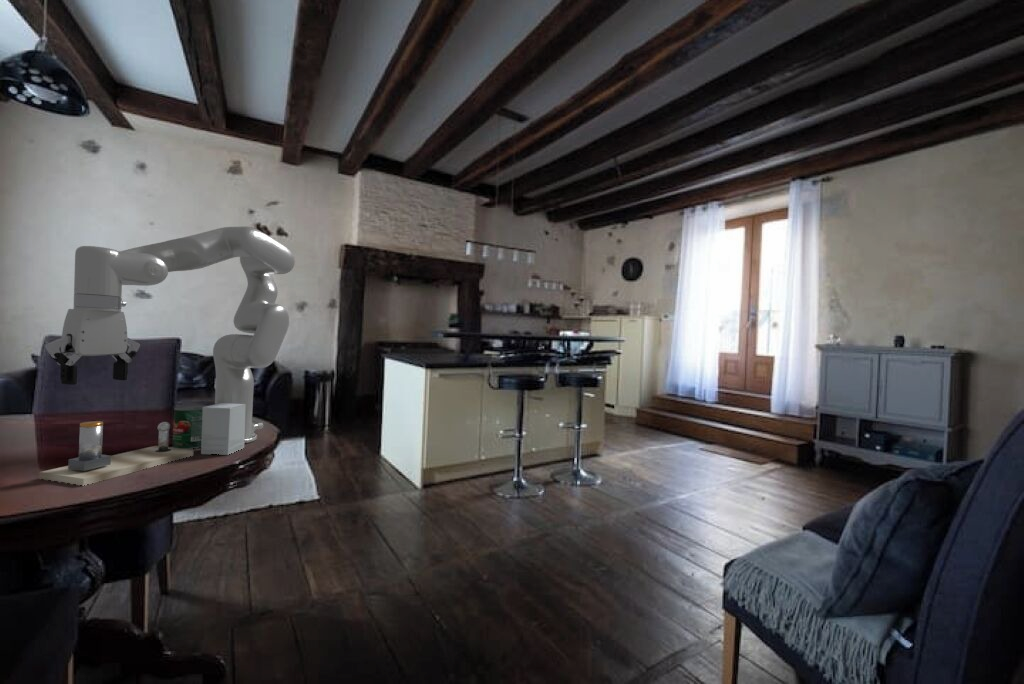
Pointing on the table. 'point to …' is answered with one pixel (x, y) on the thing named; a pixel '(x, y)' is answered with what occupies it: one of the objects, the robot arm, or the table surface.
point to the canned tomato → (187, 426)
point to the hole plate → (117, 465)
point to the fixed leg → (163, 436)
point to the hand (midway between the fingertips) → (95, 381)
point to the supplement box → (223, 428)
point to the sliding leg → (90, 448)
